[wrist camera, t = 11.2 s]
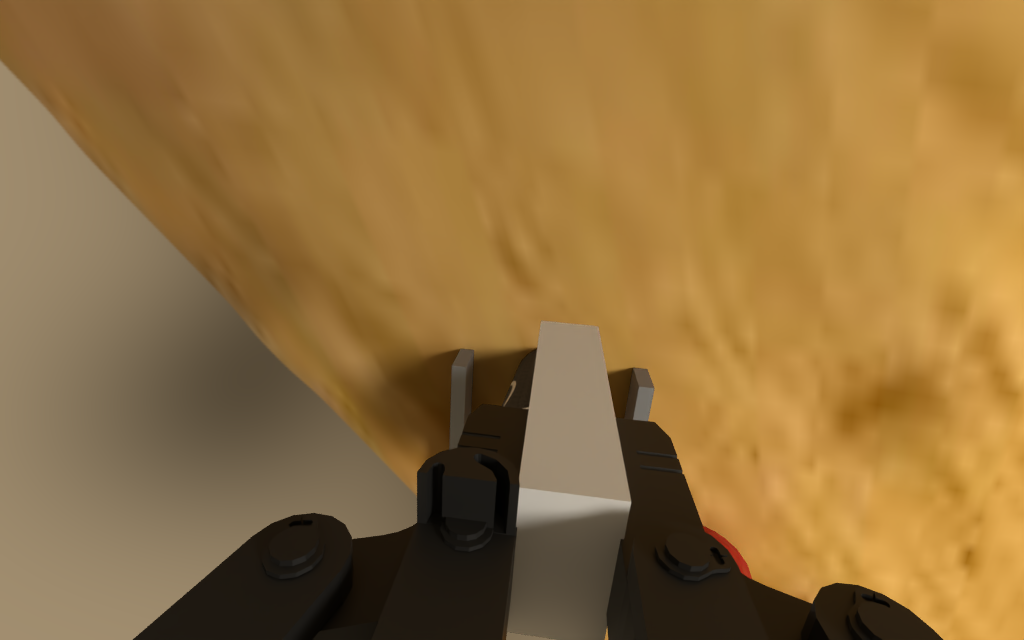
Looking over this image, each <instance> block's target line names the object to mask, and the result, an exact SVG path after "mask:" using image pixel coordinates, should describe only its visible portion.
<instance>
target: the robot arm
mask: <svg viewBox="0 0 1024 640" xmlns="http://www.w3.org/2000/svg"><path fill="white" fill-rule="evenodd" d="M607 627H608V639H609V640H943V639H942V638H941V637H940V636H939V635H938V634H937V633H936V632H935V631H934V630H933V629H932V628H931V627H929V626H928V625H927V624H926V623H925V622H923V621H922V620H921V619H920V618H919V617H917V616H916V615H915V614H914V613H913V612H911V611H910V610H909V609H907V608H905V607H904V606H902V605H900V604H899V603H897V602H895V601H894V600H892V599H890V598H888V597H887V596H885V595H883V594H881V593H878V592H875V591H873V590H870V589H867V588H864V587H862V586H859V585H852V584H842V583H835V584H832V585H828V586H825V587H822V588H821V589H820V591H819V592H818V594H817V596H816V597H815V599H814V601H813V604H811V603H808V602H806V601H803V600H801V599H798V598H795V597H793V596H790V595H788V594H785V593H783V592H780V591H778V590H775V589H772V588H770V587H767V586H765V585H763V584H761V583H759V582H757V581H754V580H752V579H750V578H748V577H747V576H745V575H744V574H742V573H741V571H740V569H739V566H738V565H737V563H736V562H735V560H734V558H733V557H732V555H731V554H730V552H729V551H728V549H727V548H725V547H724V546H723V545H722V544H721V543H720V542H719V541H718V540H716V539H715V538H714V537H713V536H712V535H710V534H708V533H706V532H705V531H704V528H703V525H702V522H701V520H700V517H699V514H698V512H697V509H696V506H695V503H694V501H693V498H692V495H691V492H690V490H689V487H688V484H687V482H686V479H685V476H684V474H682V468H681V465H680V462H679V460H678V459H677V454H676V452H675V449H674V446H673V443H672V441H671V438H670V437H669V436H668V435H667V434H666V433H665V432H664V431H663V430H662V429H661V428H660V427H659V426H658V425H657V424H656V423H655V422H649V421H641V420H632V419H623V418H615V413H614V407H613V402H612V397H611V391H610V386H609V381H608V375H607V370H606V365H605V360H604V354H603V349H602V344H601V338H600V333H599V328H598V326H589V325H579V324H569V323H559V322H549V321H541V326H540V333H539V340H538V347H537V354H536V362H535V369H534V376H533V383H532V390H531V397H530V404H529V409H522V408H513V407H504V406H496V405H487V404H482V405H481V406H480V407H478V408H477V409H476V410H475V411H474V412H472V413H471V414H470V415H469V416H468V418H467V420H466V423H465V426H464V429H463V431H462V435H461V437H460V440H459V442H458V446H457V448H454V449H450V450H446V451H442V452H440V453H438V454H436V455H435V456H433V457H431V458H429V459H428V460H426V461H425V463H424V464H423V465H422V466H421V468H420V469H419V470H418V472H417V523H416V524H415V525H413V526H411V527H409V528H407V529H404V530H402V531H399V532H396V533H391V534H386V535H381V536H373V537H366V538H358V539H352V537H351V535H350V533H349V532H348V529H347V527H346V525H345V524H344V523H342V522H340V521H339V520H337V519H336V518H334V517H332V516H328V515H322V514H316V513H311V514H302V515H293V516H291V517H288V518H285V519H283V520H280V521H277V522H274V523H272V524H270V525H269V526H267V527H266V528H264V529H263V530H261V531H260V532H258V533H257V534H255V535H254V536H252V537H251V538H250V539H249V540H248V541H247V542H245V543H244V544H243V545H242V546H241V547H240V548H239V549H237V550H236V551H235V552H234V553H233V554H232V555H231V556H229V557H228V558H227V559H226V560H225V561H223V562H222V563H221V564H220V565H219V566H218V567H217V568H215V569H214V570H213V571H212V572H211V573H210V574H208V575H207V576H206V577H205V578H204V579H203V580H201V582H199V583H198V584H197V585H196V586H194V587H193V588H192V589H191V590H190V591H189V592H187V593H186V594H185V595H184V596H183V597H182V598H180V599H179V600H178V601H177V602H176V603H175V604H174V605H172V606H171V607H170V608H169V609H168V610H167V611H165V612H164V613H163V614H162V615H161V616H160V617H158V618H157V619H156V620H155V621H154V622H153V623H152V624H150V625H149V626H148V627H147V628H146V629H145V630H143V631H142V632H141V633H140V634H139V635H138V636H136V637H135V638H134V639H133V640H506V634H507V632H510V633H517V634H524V635H530V636H537V637H543V638H549V639H556V640H604V639H605V634H606V629H607Z"/></svg>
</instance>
